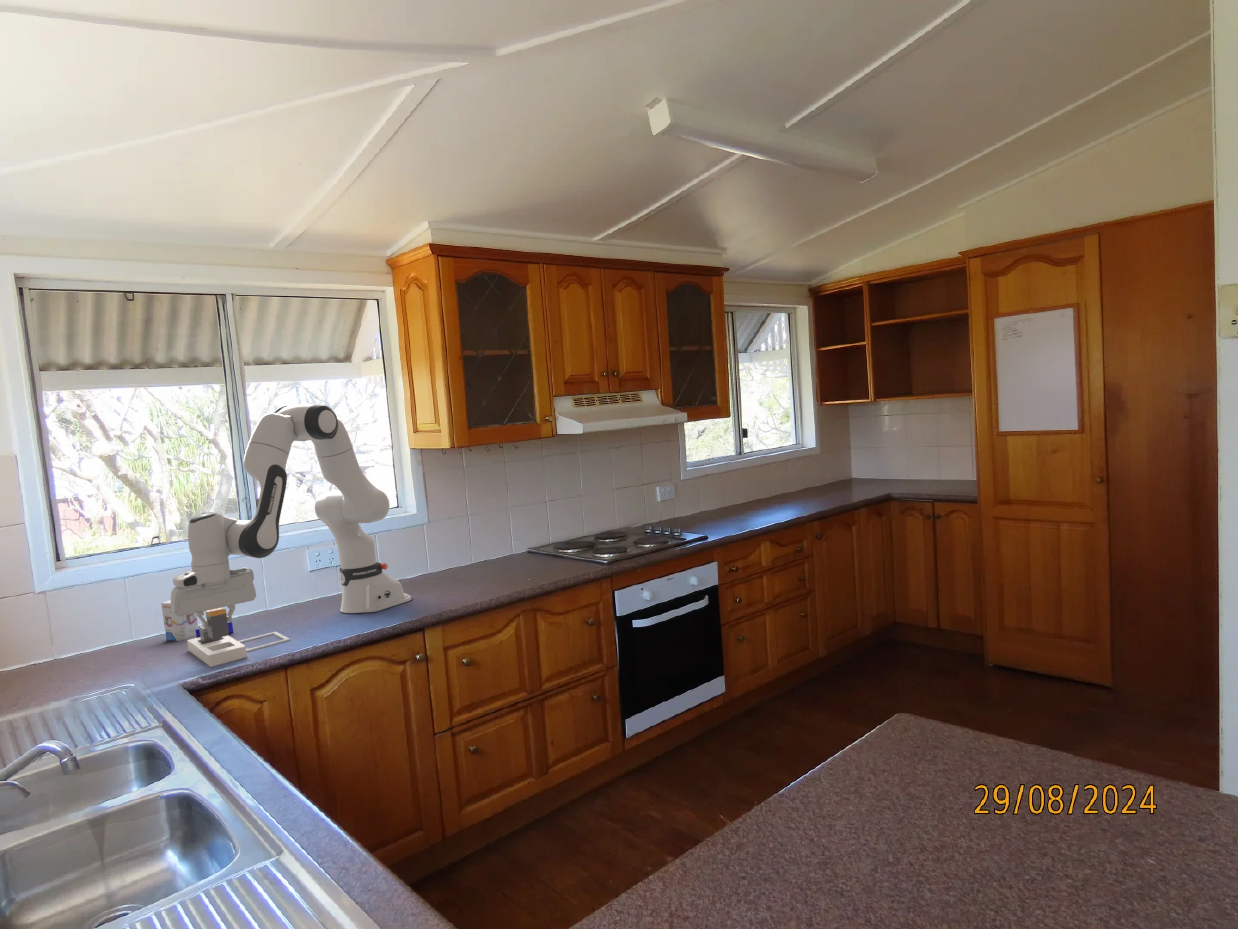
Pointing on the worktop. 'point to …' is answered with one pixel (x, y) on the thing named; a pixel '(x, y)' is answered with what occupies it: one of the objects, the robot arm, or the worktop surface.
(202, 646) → the white slotted block
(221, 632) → the plug
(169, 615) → the ink box
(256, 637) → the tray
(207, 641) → the twin plug
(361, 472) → the robot arm
